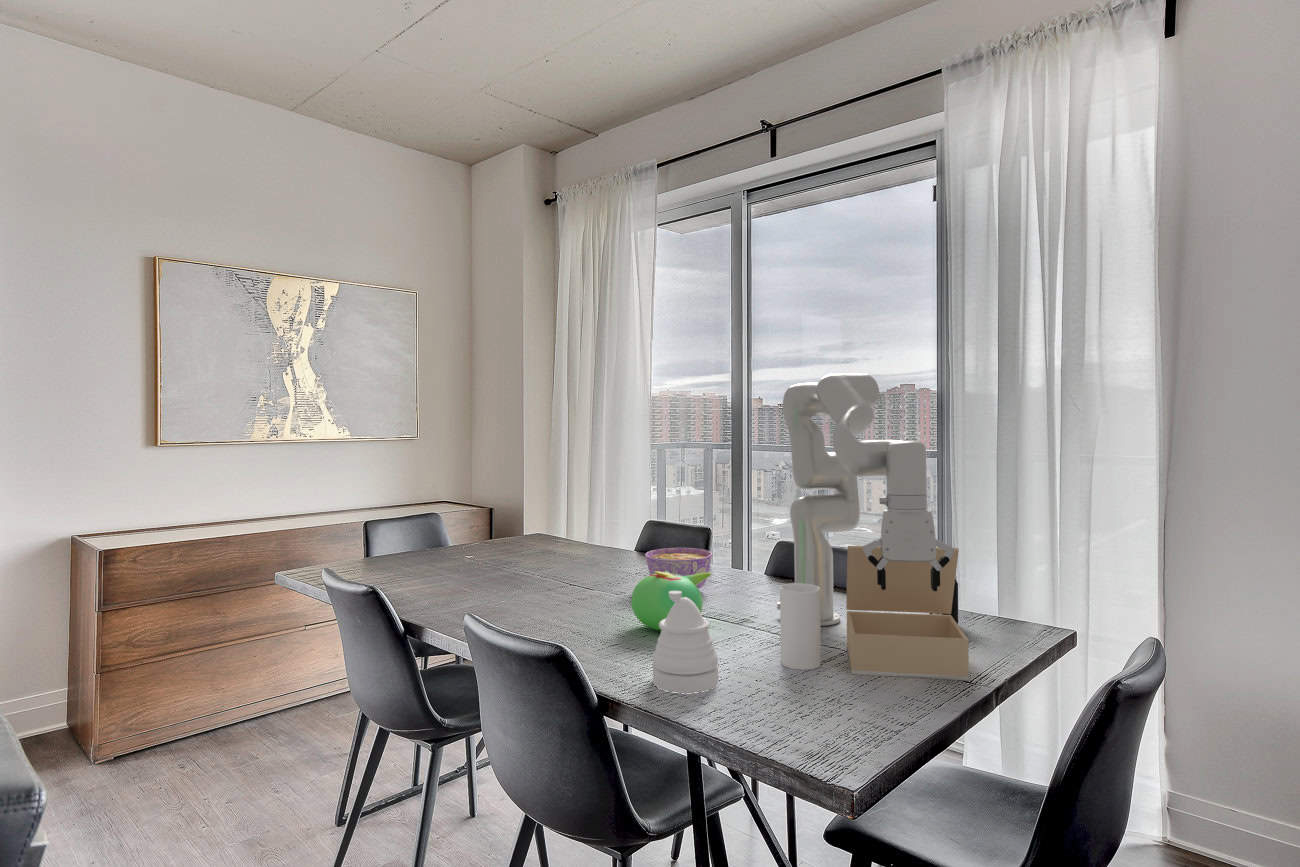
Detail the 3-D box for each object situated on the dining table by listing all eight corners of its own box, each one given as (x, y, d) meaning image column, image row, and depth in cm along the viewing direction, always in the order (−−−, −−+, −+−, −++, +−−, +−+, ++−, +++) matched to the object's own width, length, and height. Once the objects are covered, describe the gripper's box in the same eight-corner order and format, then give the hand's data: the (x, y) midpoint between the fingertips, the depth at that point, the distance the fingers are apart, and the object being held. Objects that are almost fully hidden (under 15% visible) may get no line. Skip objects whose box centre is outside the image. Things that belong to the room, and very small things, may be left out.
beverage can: (960, 629, 177) (960, 580, 177) (931, 628, 178) (931, 579, 178) (955, 622, 184) (955, 574, 183) (927, 621, 185) (927, 573, 185)
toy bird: (618, 630, 181) (617, 570, 181) (664, 615, 194) (663, 560, 193) (673, 644, 169) (672, 580, 169) (718, 628, 181) (718, 568, 181)
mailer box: (851, 674, 148) (851, 634, 148) (846, 646, 166) (846, 611, 165) (968, 680, 143) (968, 639, 143) (951, 651, 161) (951, 615, 161)
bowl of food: (715, 600, 209) (714, 559, 209) (644, 601, 209) (644, 560, 209) (710, 584, 229) (710, 547, 229) (646, 585, 229) (645, 548, 229)
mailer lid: (848, 544, 156) (847, 542, 156) (846, 609, 165) (846, 607, 166) (959, 546, 151) (958, 544, 152) (950, 613, 161) (950, 611, 161)
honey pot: (669, 698, 136) (668, 602, 136) (642, 676, 148) (641, 587, 148) (730, 687, 142) (729, 594, 141) (699, 667, 153) (698, 581, 153)
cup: (812, 672, 149) (812, 593, 149) (774, 665, 154) (773, 589, 153) (826, 660, 156) (825, 585, 156) (789, 654, 161) (788, 581, 160)
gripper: (862, 505, 145) (864, 592, 145) (956, 505, 141) (958, 594, 141) (860, 501, 152) (862, 584, 152) (949, 501, 149) (951, 586, 149)
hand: (908, 589), depth 147 cm, fingers open, 9 cm apart
